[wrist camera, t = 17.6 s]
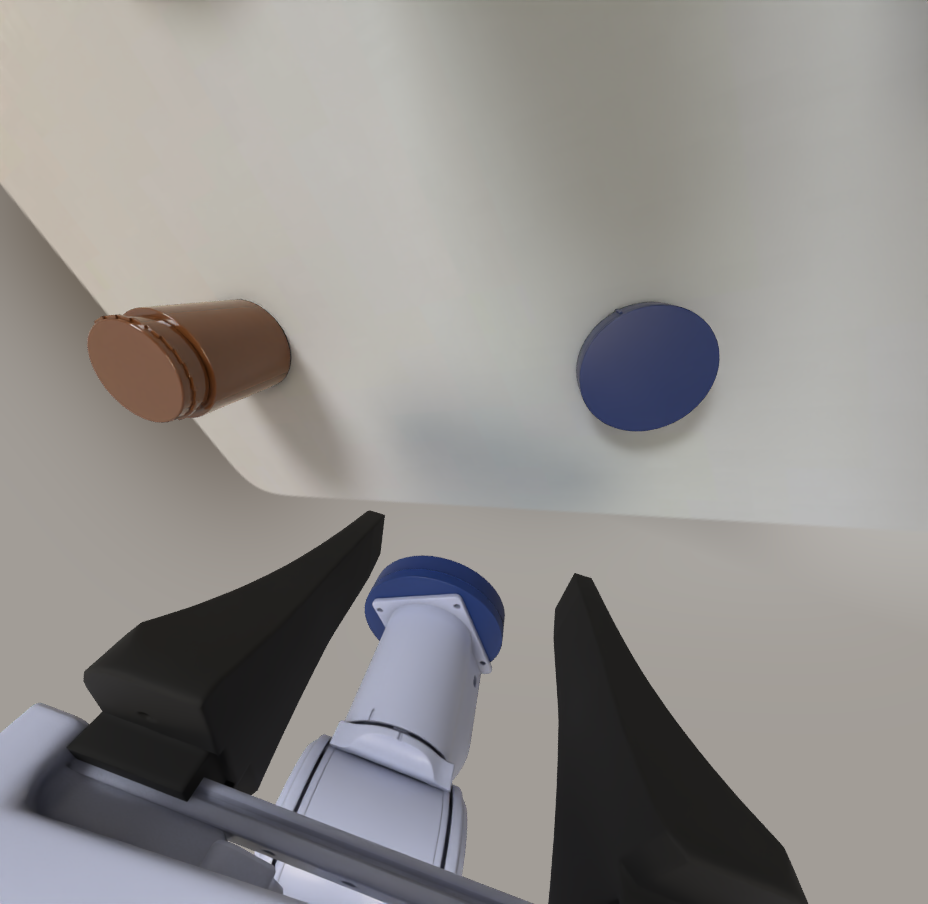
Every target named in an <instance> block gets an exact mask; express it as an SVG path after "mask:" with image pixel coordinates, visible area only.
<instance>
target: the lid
mask: <svg viewBox="0 0 928 904" xmlns="http://www.w3.org/2000/svg"><path fill="white" fill-rule="evenodd" d="M718 367H719V347H718V342H717V340H716V337H715V334H714V333H713V331H712V329H711V328H710V326H709V325H708V324H707V323H706V322H705V321H704V320H703V319H702V318H701V317H700V316H698V315H697V314H695V313H693V312H692V311H690V310H687V309H685V308H682V307H678V306H674V305H670V304H665V303H660V302H644V303H638V304H633V305H630V306H627V307H624V308H622V309H620V310H618V309H616V310H615V312H614V313H612V314H611V315H609V316H608V317H606V318H605V319H604V320H602V321H601V322H600V323H599V324H598V325H597V326H596V327H595V328H594V329H593V330H592V332H591V333H590V334H589V335H588V337H587V339H586V340H585V342H584V344H583V346H582V348H581V350H580V353H579V356H578V361H577V369H576V373H577V381H578V386H579V389H580V392H581V395H582V397H583V400H584V402H585V404H586V406H587V407H588V409H589V410H590V411H591V413H592V414H593V415H594V416H596V417H597V418H598V419H599V420H601V421H602V422H603V423H605V424H607V425H609V426H612V427H614V428H617V429H621V430H626V431H648V430H653V429H658V428H661V427H664V426H667V425H669V424H672V423H674V422H676V421H677V420H679V419H681V418H683V417H684V416H686V415H687V414H688V413H690V412H691V411H692V410H693V409H694V408H695V407H697V406H698V404H699V403H700V402H701V401H702V400H703V399H704V398H705V396H706V395H707V393H708V392H709V390H710V388H711V387H712V385H713V383H714V380H715V378H716V375H717V371H718Z"/></svg>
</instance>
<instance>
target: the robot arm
mask: <svg viewBox="0 0 928 904" xmlns="http://www.w3.org/2000/svg"><path fill="white" fill-rule="evenodd" d="M384 518H385V515H383V514H380V513H377V512H373V511H367V512H366V513H364V514H363V515H362V516H360V517H359V518H358V519H356V520H355V521H354V522H352V523H351V524H350V525H348V526H347V527H346V528H344V529H343V530H342V531H340V532H339V533H337V534H336V535H334V536H333V537H331V538H330V539H328V540H327V541H326V542H324V543H322V544H321V545H319V546H318V547H316V548H314V549H313V550H311V551H310V552H308V553H306V554H305V555H303V556H301V557H300V558H298V559H296V560H295V561H293V562H291V563H289V564H288V565H286V566H284V567H282V568H280V569H278V570H276V571H274V572H272V573H270V574H269V575H266V576H264V577H262V578H260V579H258V580H256V581H254V582H251V583H249V584H247V585H245V586H243V587H241V588H238V589H236V590H233V591H231V592H229V593H226V594H223V595H221V596H218V597H216V598H213V599H211V600H208V601H205V602H203V603H200V604H198V605H195V606H192V607H189V608H186V609H183V610H180V611H177V612H174V613H170V614H168V615H164V616H161V617H158V618H155V619H151V620H148V621H145V622H142V623H140V624H139V625H138V626H136V628H134V629H133V630H131V631H130V632H129V633H127V634H126V635H125V636H124V637H123V638H122V639H121V640H120V641H118V642H117V643H116V644H115V645H114V646H113V647H112V648H110V649H109V650H108V651H107V652H106V653H105V654H104V655H103V656H101V657H100V658H99V659H98V660H97V661H96V662H95V663H93V664H92V665H91V666H90V667H89V668H88V669H87V670H86V671H85V672H84V683H85V685H86V687H87V689H88V690H89V692H90V693H91V695H92V696H93V698H94V699H95V701H96V702H97V703H98V705H99V706H100V708H101V710H102V711H103V712H102V713H101V714H100V715H99V716H98V717H97V718H96V719H95V720H94V721H93V722H92V723H91V724H90V725H89V724H88V723H87V722H86V721H84V720H83V719H81V718H79V717H77V716H75V715H72V714H69V713H67V712H64V711H61V710H59V709H56V708H54V707H51V706H48V705H46V704H43V703H37V704H34V705H33V706H31V707H30V708H29V709H28V710H27V711H25V712H24V713H23V714H22V715H21V716H20V717H18V718H17V719H16V720H15V721H14V722H12V723H11V724H10V725H9V726H8V727H7V728H5V729H4V730H3V731H2V732H1V733H0V904H533V903H530V902H528V901H525V900H523V899H520V898H517V897H515V896H512V895H510V894H507V893H504V892H502V891H499V890H496V889H494V888H491V887H489V886H486V885H484V884H481V883H478V882H475V881H473V880H470V879H468V878H465V877H462V871H463V864H464V857H465V848H466V838H467V809H466V805H465V802H464V800H463V797H462V792H461V789H460V788H459V787H458V786H455V785H452V780H454V778H455V777H456V776H457V775H458V773H459V771H460V770H461V769H462V767H463V765H464V763H465V761H466V758H467V755H468V752H469V748H470V742H471V736H472V729H473V722H474V716H475V709H476V703H477V696H478V689H479V683H480V675H481V674H482V673H483V674H488V673H491V671H492V666H491V663H490V661H489V659H488V657H487V654H486V652H485V650H484V647H483V645H482V643H481V640H480V638H479V636H478V633H477V631H476V629H475V626H474V624H473V622H472V620H471V617H470V615H469V613H468V610H467V608H466V606H465V603H464V601H463V599H462V597H461V596H460V595H459V594H440V595H424V596H408V597H391V598H377V599H375V600H374V601H373V604H372V605H373V607H374V609H375V610H376V612H377V614H378V616H379V617H380V619H381V621H382V622H383V624H384V626H385V627H386V628H385V630H384V633H383V635H382V637H381V639H380V642H379V644H378V646H377V648H376V651H375V653H374V656H373V658H372V660H371V662H370V664H369V667H368V669H367V671H366V674H365V676H364V678H363V680H362V683H361V685H360V687H359V689H358V692H357V694H356V696H355V699H354V701H353V703H352V706H351V708H350V710H349V712H348V714H347V717H346V719H345V721H343V720H341V721H340V722H339V724H338V726H337V728H336V731H335V733H334V735H333V737H330V736H328V735H325V734H323V735H321V736H320V737H319V738H318V739H317V740H315V741H313V742H312V743H310V744H309V745H308V746H307V747H306V749H305V750H304V752H303V753H302V755H301V756H300V758H299V760H298V762H297V763H296V765H295V767H294V769H293V771H292V772H291V774H290V776H289V778H288V780H287V782H286V784H285V786H284V788H283V790H282V792H281V794H280V796H279V798H278V800H277V802H276V804H272V803H270V802H267V801H264V800H262V799H259V798H256V797H254V796H251V795H252V794H253V793H255V792H256V791H257V790H258V788H259V786H260V784H261V781H262V779H263V777H264V774H265V772H266V770H267V768H268V766H269V764H270V761H271V759H272V757H273V755H274V753H275V750H276V748H277V746H278V744H279V742H280V740H281V738H282V735H283V733H284V731H285V729H286V727H287V725H288V723H289V721H290V719H291V716H292V714H293V712H294V710H295V708H296V706H297V704H298V702H299V700H300V698H301V696H302V694H303V692H304V690H305V688H306V686H307V684H308V682H309V679H310V678H311V676H312V674H313V672H314V669H315V668H316V666H317V664H318V662H319V660H320V658H321V656H322V654H323V652H324V650H325V648H326V646H327V644H328V643H329V641H330V639H331V637H332V636H333V634H334V632H335V631H336V629H337V627H338V626H339V624H340V623H341V621H342V620H343V618H344V616H345V615H346V613H347V612H348V610H349V609H350V607H351V605H352V604H353V602H354V601H355V599H356V597H357V596H358V594H359V593H360V591H361V589H362V588H363V586H364V585H365V583H366V581H367V580H368V578H369V576H370V574H371V572H372V570H373V568H374V566H375V564H376V562H377V560H378V557H379V555H380V551H381V543H382V535H383V526H384ZM554 652H555V667H556V682H557V698H558V718H559V729H558V767H557V792H556V811H555V828H554V843H553V855H552V869H551V881H550V892H549V903H548V904H808V902H807V900H806V897H805V895H804V893H803V890H802V888H801V885H800V883H799V881H798V878H797V876H796V873H795V871H794V869H793V866H792V865H791V862H790V860H789V858H788V855H787V853H786V851H785V849H784V847H783V846H782V845H781V844H780V842H779V841H778V840H777V839H776V838H775V837H774V836H773V835H772V834H771V833H770V832H769V831H768V829H766V827H765V826H764V825H763V824H762V823H761V822H760V821H759V820H758V819H757V818H756V816H755V815H754V814H753V813H752V812H751V811H750V810H749V809H748V808H747V807H746V806H745V804H744V803H743V802H742V801H741V800H740V799H739V798H738V797H737V796H736V794H735V793H734V792H733V791H732V790H731V789H730V787H729V786H728V785H727V784H726V783H725V782H724V780H723V779H722V778H721V777H720V776H719V775H718V773H717V772H716V771H715V770H714V769H713V767H712V766H711V765H710V764H709V763H708V761H707V760H706V759H705V758H704V757H703V755H702V754H701V753H700V752H699V750H698V749H697V748H696V747H695V745H694V744H693V743H692V741H691V740H690V739H689V738H688V736H687V735H686V734H685V732H684V731H683V730H682V728H681V727H680V726H679V724H678V723H677V722H676V720H675V719H674V718H673V716H672V715H671V714H670V712H669V711H668V710H667V708H666V707H665V705H664V704H663V702H662V701H661V699H660V698H659V697H658V695H657V694H656V692H655V691H654V689H653V688H652V686H651V685H650V683H649V682H648V680H647V679H646V677H645V676H644V674H643V672H642V671H641V669H640V667H639V666H638V664H637V663H636V661H635V659H634V658H633V656H632V654H631V653H630V651H629V649H628V647H627V645H626V644H625V642H624V640H623V638H622V637H621V635H620V633H619V631H618V629H617V628H616V626H615V623H614V622H613V620H612V618H611V616H610V614H609V612H608V610H607V608H606V606H605V604H604V602H603V600H602V598H601V596H600V594H599V592H598V590H597V588H596V586H595V584H594V582H593V580H592V578H589V577H585V576H582V575H579V574H576V573H575V574H574V575H573V577H572V579H571V581H570V583H569V584H568V586H567V588H566V590H565V592H564V594H563V596H562V598H561V599H560V601H559V603H558V605H557V607H556V609H555V620H554ZM228 841H230V842H228ZM231 842H233V843H236V844H238V845H241V846H243V847H246V848H248V849H251V850H253V851H255V854H254V855H253V854H252V853H250V852H248V851H246V850H245V849H243V848H241V847H239V846H237V845H235V844H233V843H231Z"/></svg>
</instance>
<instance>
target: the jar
mask: <svg viewBox="0 0 928 904" xmlns="http://www.w3.org/2000/svg"><path fill="white" fill-rule="evenodd" d="M87 348H88V354H89V358H90V361H91V364H92V366H93V369H94V371H95V372H96V375H97V376H98V378H99V380H100V381H101V383H102V384H103V385H104V386H105V388H106V389H107V391H108V392H109V393H110V394H111V395H112V396H113V397H114V398H115V399H116V400H117V401H118V402H119V403H120V404H121V405H122V406H123V407H125V408H126V409H128V410H129V411H130V412H132V413H133V414H135V415H137V416H139V417H141V418H143V419H146V420H149V421H153V422H169V421H173V420H175V419H178V420H181V419H184V418H195V417H200V416H203V415H205V414H208V413H210V412H212V411H215V410H217V409H220V408H222V407H224V406H227V405H229V404H232V403H234V402H236V401H239V400H241V399H243V398H246V397H248V396H251V395H253V394H255V393H258V392H260V391H263V390H265V389H267V388H270V387H272V386H275V385H277V384H279V383H280V382H281V381H282V380H283V379H284V378H285V377H286V375H287V373H288V371H289V367H290V349H289V345H288V342H287V339H286V336H285V334H284V332H283V330H282V329H281V327H280V326H279V324H278V323H277V322H276V320H275V319H274V318H273V317H272V316H271V315H270V314H269V313H268V312H267V311H266V310H264V309H263V308H261V307H260V306H258V305H256V304H254V303H252V302H249V301H246V300H240V299H237V300H223V301H211V302H199V303H187V304H175V305H163V306H151V307H139V308H134V309H131V310H129V311H127V312H126V313H125V314H123V315H120V314H119V315H109V316H102V317H100V318H98V319H97V320H96V321H95V325H93V327H92V328H91V329H90V332H89V335H88V339H87Z"/></svg>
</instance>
